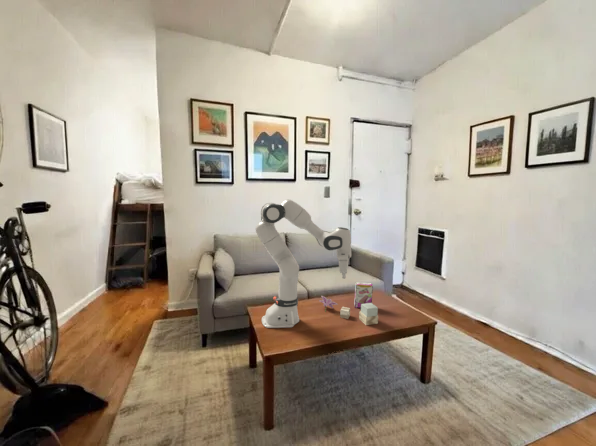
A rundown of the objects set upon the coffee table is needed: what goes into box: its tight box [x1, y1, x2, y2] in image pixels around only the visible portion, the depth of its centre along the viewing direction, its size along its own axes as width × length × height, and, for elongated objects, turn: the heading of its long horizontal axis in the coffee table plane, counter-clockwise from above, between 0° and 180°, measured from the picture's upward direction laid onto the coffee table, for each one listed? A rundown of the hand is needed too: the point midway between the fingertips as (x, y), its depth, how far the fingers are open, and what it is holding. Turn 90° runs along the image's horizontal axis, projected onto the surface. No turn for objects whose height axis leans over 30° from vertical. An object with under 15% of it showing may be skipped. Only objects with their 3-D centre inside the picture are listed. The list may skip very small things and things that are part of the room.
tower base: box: [358, 310, 379, 326], centre depth 162 cm, size 8×8×5 cm
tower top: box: [360, 302, 379, 317], centre depth 161 cm, size 7×7×5 cm
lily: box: [318, 295, 339, 313], centre depth 177 cm, size 12×12×10 cm
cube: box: [339, 306, 351, 320], centre depth 168 cm, size 5×5×5 cm
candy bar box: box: [353, 281, 374, 309], centre depth 182 cm, size 11×5×16 cm, turn 84°
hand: (344, 275), depth 166 cm, fingers open, 8 cm apart
